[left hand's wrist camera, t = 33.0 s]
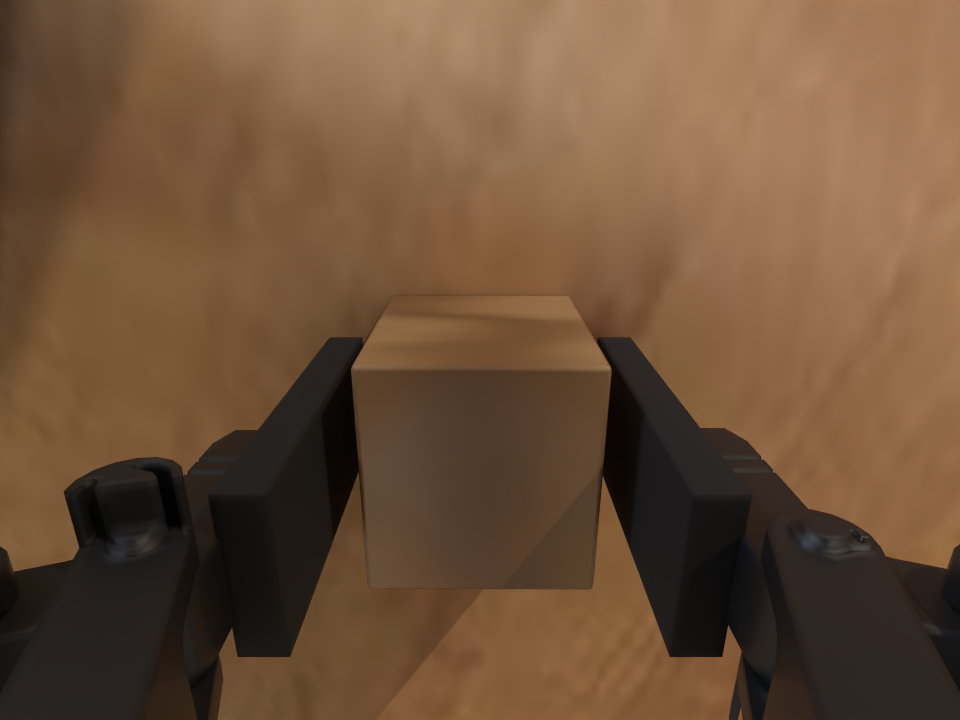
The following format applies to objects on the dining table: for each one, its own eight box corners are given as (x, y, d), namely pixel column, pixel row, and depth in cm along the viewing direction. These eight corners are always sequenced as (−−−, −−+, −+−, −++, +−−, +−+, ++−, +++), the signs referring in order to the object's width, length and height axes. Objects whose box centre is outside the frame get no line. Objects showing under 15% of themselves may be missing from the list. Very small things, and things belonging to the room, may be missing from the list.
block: (399, 461, 15) (367, 590, 11) (391, 294, 14) (349, 365, 9) (560, 461, 15) (593, 591, 11) (570, 295, 14) (613, 366, 9)
